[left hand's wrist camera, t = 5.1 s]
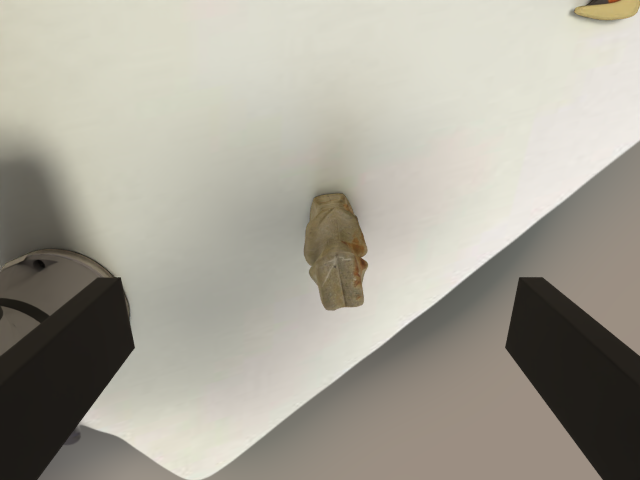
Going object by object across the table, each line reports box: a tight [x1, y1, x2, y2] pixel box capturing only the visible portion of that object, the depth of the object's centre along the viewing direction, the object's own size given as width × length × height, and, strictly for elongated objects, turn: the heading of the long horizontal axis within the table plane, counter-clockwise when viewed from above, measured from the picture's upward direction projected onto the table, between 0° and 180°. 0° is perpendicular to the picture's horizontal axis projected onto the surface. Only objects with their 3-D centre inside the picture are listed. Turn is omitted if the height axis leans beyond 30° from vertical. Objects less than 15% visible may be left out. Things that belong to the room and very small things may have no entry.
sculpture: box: [304, 193, 368, 310], centre depth 37 cm, size 6×7×15 cm
